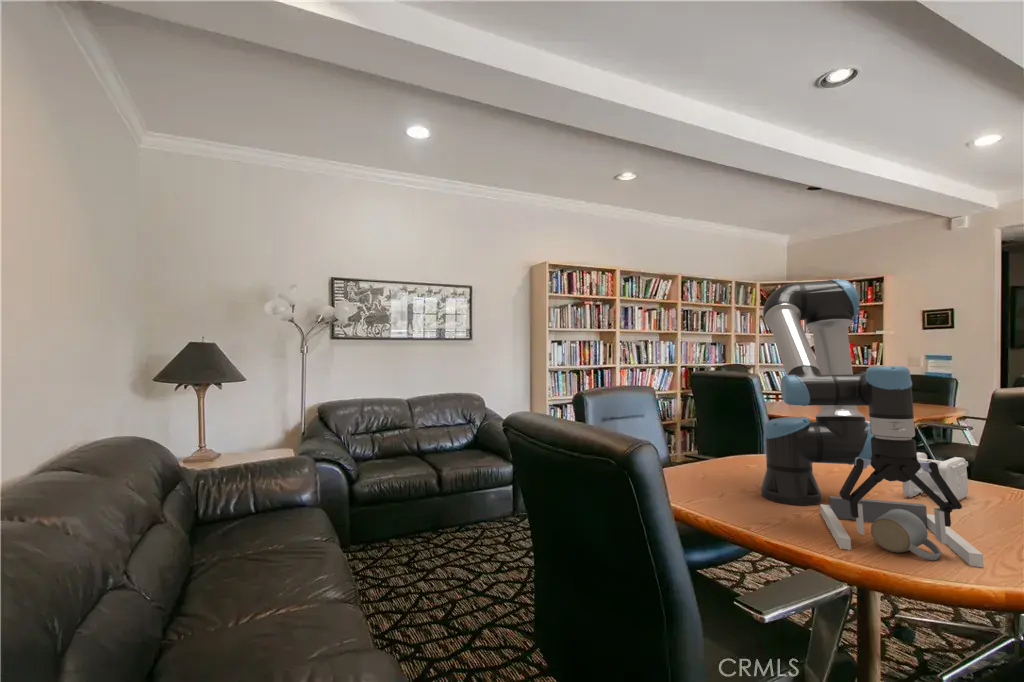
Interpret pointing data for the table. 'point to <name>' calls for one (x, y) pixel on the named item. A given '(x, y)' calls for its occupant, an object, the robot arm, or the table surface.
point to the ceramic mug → (903, 534)
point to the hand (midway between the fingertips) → (899, 537)
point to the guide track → (879, 508)
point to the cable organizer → (950, 472)
